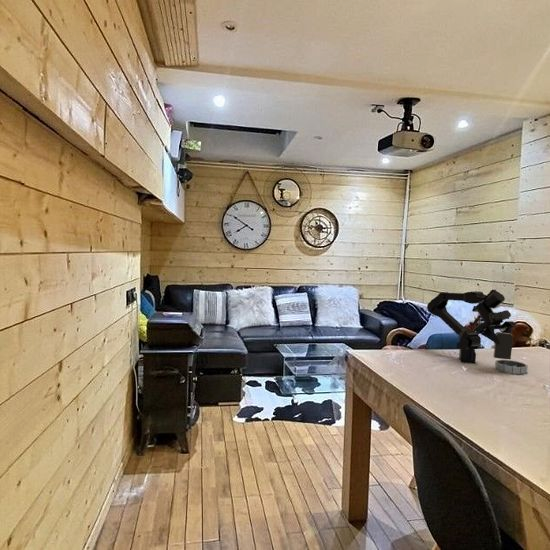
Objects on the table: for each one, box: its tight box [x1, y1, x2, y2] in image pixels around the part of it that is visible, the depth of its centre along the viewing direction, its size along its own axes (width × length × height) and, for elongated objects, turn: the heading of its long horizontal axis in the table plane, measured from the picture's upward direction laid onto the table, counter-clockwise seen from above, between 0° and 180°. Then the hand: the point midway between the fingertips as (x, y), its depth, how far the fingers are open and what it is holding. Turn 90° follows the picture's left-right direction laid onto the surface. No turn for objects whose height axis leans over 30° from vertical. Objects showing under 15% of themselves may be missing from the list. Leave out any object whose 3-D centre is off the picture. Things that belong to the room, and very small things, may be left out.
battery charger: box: [493, 331, 514, 360], centre depth 186 cm, size 7×4×11 cm, turn 78°
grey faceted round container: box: [494, 359, 529, 376], centre depth 191 cm, size 13×13×3 cm
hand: (505, 343), depth 185 cm, fingers closed on battery charger, 7 cm apart
